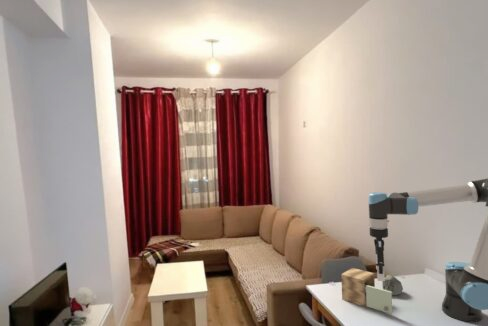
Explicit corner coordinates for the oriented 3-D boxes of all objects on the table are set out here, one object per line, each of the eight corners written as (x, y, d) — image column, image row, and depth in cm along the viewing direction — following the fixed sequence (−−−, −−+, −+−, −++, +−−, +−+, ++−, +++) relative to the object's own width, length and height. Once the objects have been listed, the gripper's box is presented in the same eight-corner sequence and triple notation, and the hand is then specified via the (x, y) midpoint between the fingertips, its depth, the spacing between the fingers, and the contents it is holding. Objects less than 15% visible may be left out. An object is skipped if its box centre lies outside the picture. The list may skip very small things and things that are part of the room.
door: (390, 315, 139) (389, 293, 139) (363, 306, 148) (363, 286, 148) (392, 313, 141) (391, 291, 141) (365, 304, 150) (365, 284, 149)
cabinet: (375, 298, 158) (374, 273, 158) (364, 306, 150) (363, 280, 150) (353, 291, 167) (352, 267, 166) (342, 299, 158) (341, 274, 158)
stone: (396, 277, 158) (390, 270, 168) (380, 289, 160) (376, 281, 170) (409, 292, 157) (402, 283, 167) (393, 303, 159) (388, 294, 169)
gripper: (390, 234, 123) (392, 287, 124) (385, 221, 146) (387, 265, 147) (370, 233, 126) (371, 285, 126) (368, 221, 149) (370, 264, 150)
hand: (380, 274), depth 137 cm, fingers open, 13 cm apart
